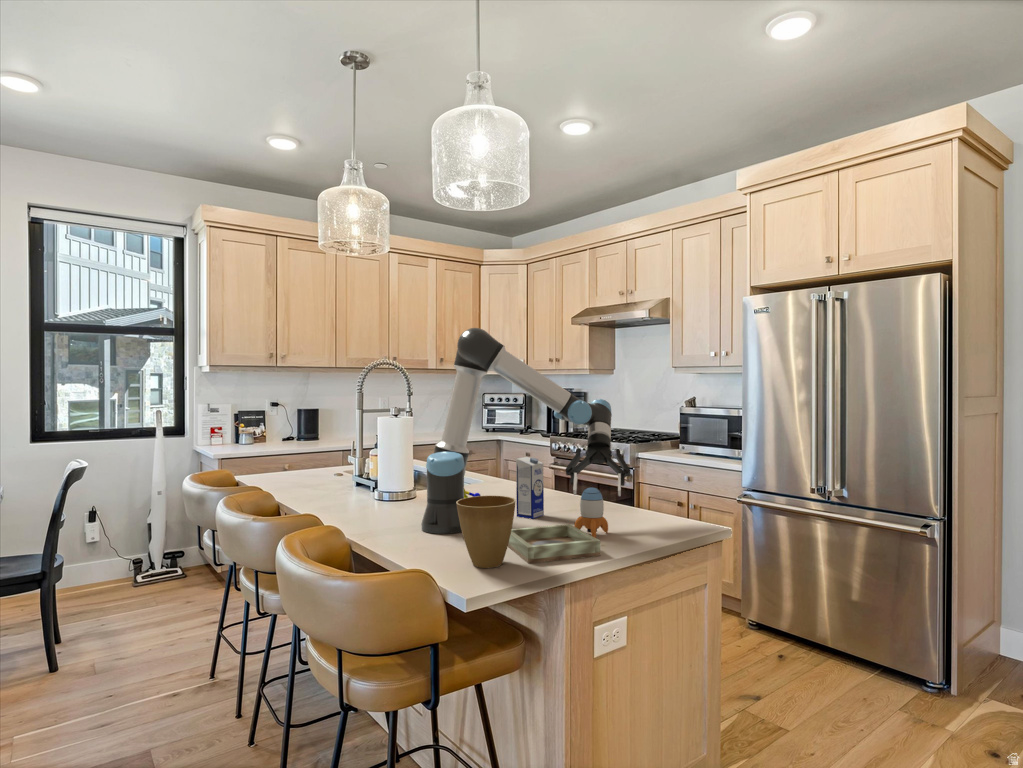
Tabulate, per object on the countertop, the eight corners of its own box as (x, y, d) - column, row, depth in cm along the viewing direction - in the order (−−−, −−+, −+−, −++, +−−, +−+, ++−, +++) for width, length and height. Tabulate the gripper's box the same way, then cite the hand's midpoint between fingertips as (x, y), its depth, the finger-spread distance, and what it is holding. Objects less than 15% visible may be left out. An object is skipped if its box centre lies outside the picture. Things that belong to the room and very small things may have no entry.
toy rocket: (606, 534, 185) (614, 487, 182) (608, 549, 175) (616, 500, 172) (573, 528, 186) (580, 482, 183) (573, 543, 175) (580, 495, 173)
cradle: (528, 563, 152) (527, 547, 152) (504, 543, 171) (504, 529, 171) (600, 555, 158) (600, 540, 158) (569, 537, 177) (569, 524, 177)
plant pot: (489, 552, 162) (488, 493, 162) (528, 564, 151) (527, 500, 151) (444, 564, 152) (444, 500, 152) (483, 577, 141) (482, 508, 141)
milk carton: (527, 513, 212) (527, 456, 212) (544, 515, 208) (543, 457, 208) (516, 516, 206) (515, 458, 206) (532, 519, 202) (532, 459, 202)
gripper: (637, 446, 200) (638, 500, 185) (562, 446, 205) (557, 498, 190) (637, 432, 195) (638, 486, 180) (560, 431, 200) (555, 484, 185)
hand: (596, 493), depth 185 cm, fingers open, 13 cm apart
